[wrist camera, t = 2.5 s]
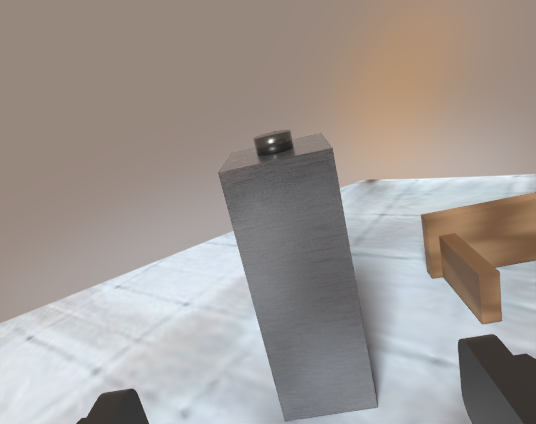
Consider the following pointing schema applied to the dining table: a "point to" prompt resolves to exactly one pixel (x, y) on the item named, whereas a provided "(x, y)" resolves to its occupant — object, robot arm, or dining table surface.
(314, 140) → the brushed steel pillar
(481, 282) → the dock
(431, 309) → the dining table surface
